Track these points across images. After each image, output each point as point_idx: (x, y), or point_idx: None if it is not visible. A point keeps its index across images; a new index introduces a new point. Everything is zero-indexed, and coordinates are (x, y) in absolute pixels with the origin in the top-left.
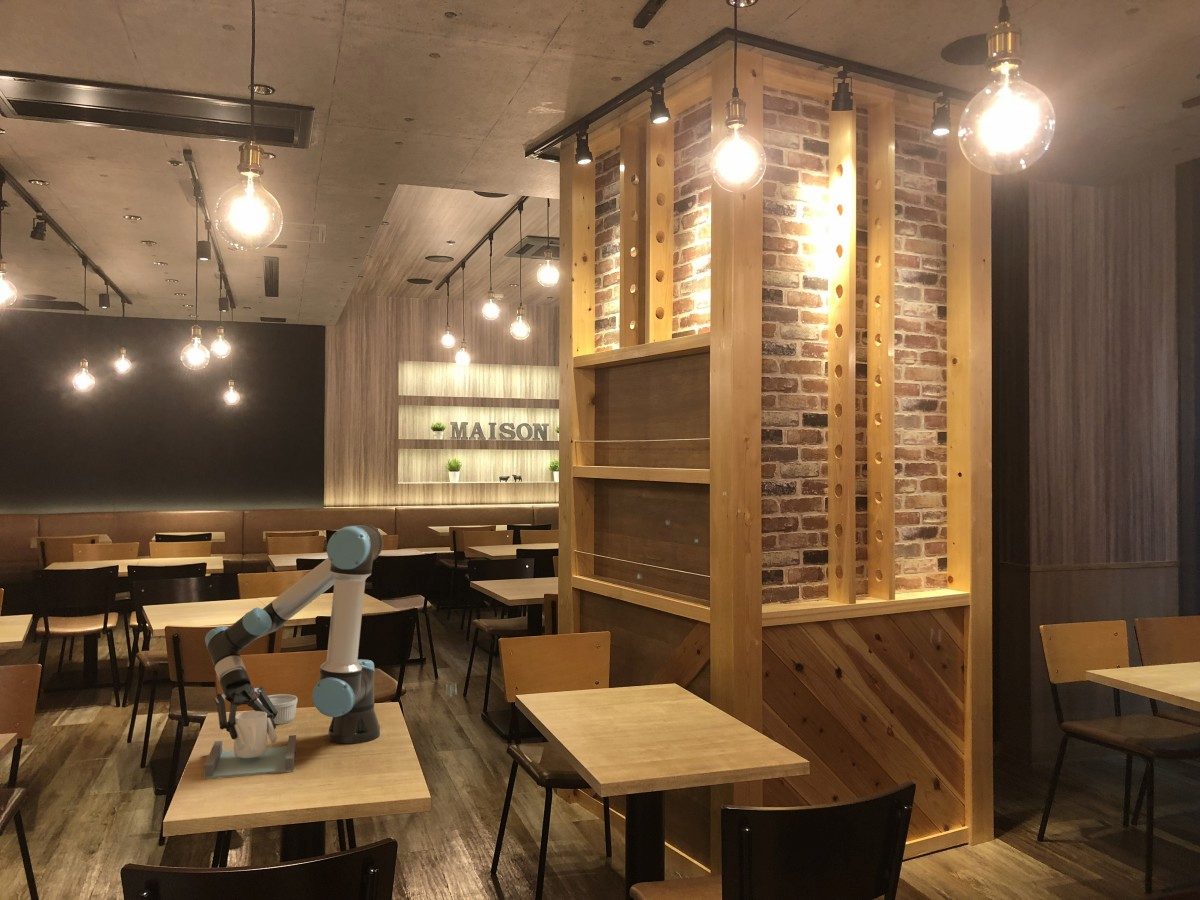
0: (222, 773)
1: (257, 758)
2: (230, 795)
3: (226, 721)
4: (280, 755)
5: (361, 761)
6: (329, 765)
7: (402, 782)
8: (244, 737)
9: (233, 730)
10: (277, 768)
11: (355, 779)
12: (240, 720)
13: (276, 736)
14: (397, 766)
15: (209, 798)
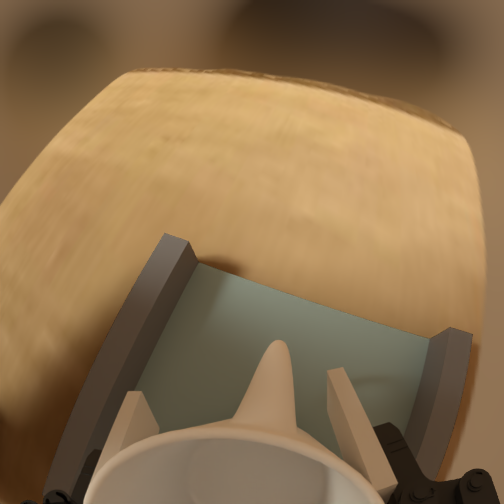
0: (399, 353)
1: None
2: (386, 178)
3: (465, 494)
4: None
5: (34, 235)
6: (84, 250)
7: (90, 112)
8: (314, 439)
9: (398, 457)
10: (212, 292)
11: (118, 142)
12: (367, 483)
13: (129, 395)
14: (34, 175)
15: (430, 188)
